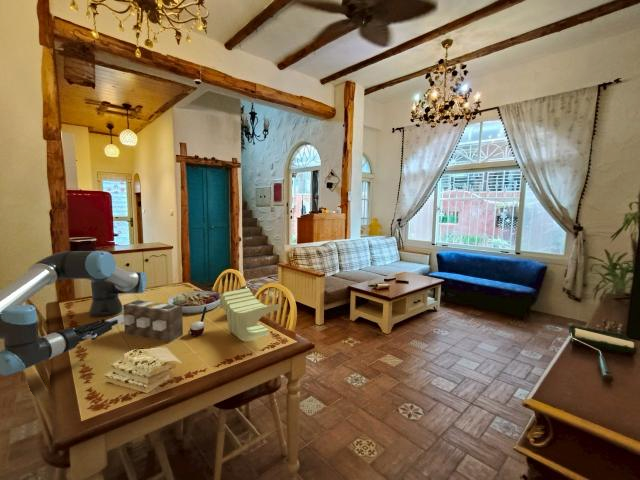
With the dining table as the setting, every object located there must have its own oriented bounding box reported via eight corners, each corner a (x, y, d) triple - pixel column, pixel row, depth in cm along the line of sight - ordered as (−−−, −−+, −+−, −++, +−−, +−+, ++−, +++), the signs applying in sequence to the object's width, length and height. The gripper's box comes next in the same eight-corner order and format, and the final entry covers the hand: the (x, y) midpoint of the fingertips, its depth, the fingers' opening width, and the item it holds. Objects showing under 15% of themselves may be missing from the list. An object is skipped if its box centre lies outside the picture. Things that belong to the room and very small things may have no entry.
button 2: (152, 329, 131) (152, 322, 131) (158, 326, 134) (158, 319, 134) (160, 331, 130) (160, 323, 129) (166, 328, 133) (166, 320, 132)
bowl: (161, 317, 161) (160, 303, 160) (174, 299, 190) (174, 287, 189) (219, 314, 168) (219, 300, 167) (223, 297, 197) (223, 285, 196)
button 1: (121, 323, 136) (120, 316, 136) (127, 321, 139) (127, 314, 139) (128, 325, 135) (128, 318, 134) (134, 322, 138) (134, 315, 137)
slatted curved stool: (220, 327, 150) (219, 293, 148) (248, 320, 160) (248, 287, 158) (248, 350, 128) (248, 310, 125) (279, 340, 138) (279, 303, 136)
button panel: (124, 333, 140) (123, 303, 138) (139, 327, 148) (138, 298, 146) (170, 342, 133) (168, 310, 131) (182, 334, 141) (182, 305, 139)
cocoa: (189, 339, 137) (187, 315, 135) (186, 334, 142) (184, 310, 140) (210, 334, 142) (209, 310, 140) (207, 328, 147) (205, 306, 145)
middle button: (136, 326, 134) (136, 319, 133) (142, 323, 137) (142, 316, 136) (144, 328, 132) (144, 320, 132) (150, 325, 135) (150, 318, 135)
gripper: (46, 350, 103) (110, 324, 126) (73, 356, 100) (134, 329, 122) (44, 329, 103) (109, 307, 125) (71, 335, 99) (134, 311, 121)
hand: (122, 318), depth 124 cm, fingers closed
